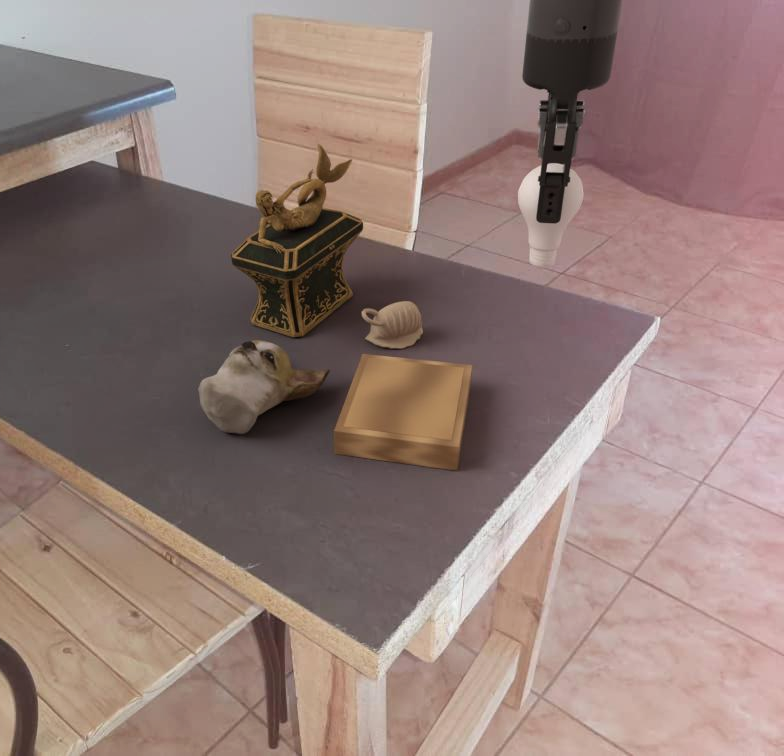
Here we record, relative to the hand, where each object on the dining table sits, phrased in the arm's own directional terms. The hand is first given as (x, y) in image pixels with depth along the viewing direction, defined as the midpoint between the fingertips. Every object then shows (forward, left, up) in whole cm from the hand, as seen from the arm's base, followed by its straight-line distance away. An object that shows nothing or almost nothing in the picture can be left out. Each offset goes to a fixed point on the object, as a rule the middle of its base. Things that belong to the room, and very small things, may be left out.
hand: (548, 207), depth 77 cm
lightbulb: (0, 0, -7) cm, 7 cm away
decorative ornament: (+16, -2, -19) cm, 25 cm away
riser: (+12, +13, -19) cm, 25 cm away
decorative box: (+28, -9, -19) cm, 35 cm away
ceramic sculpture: (+28, +14, -19) cm, 36 cm away
